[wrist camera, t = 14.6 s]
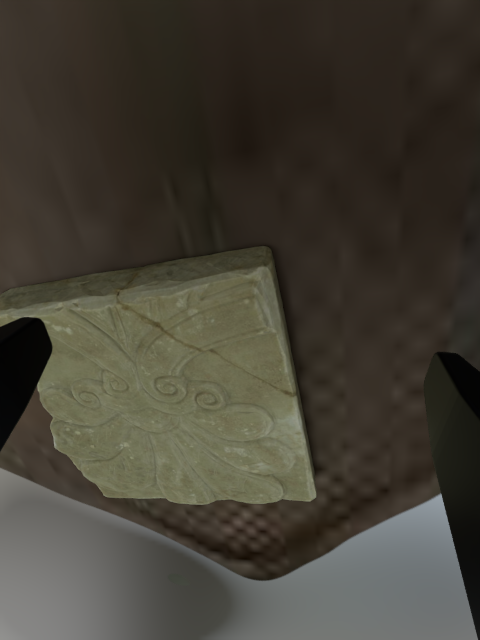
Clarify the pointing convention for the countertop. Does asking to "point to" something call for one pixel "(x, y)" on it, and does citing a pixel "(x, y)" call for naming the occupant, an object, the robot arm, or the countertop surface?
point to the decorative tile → (174, 379)
